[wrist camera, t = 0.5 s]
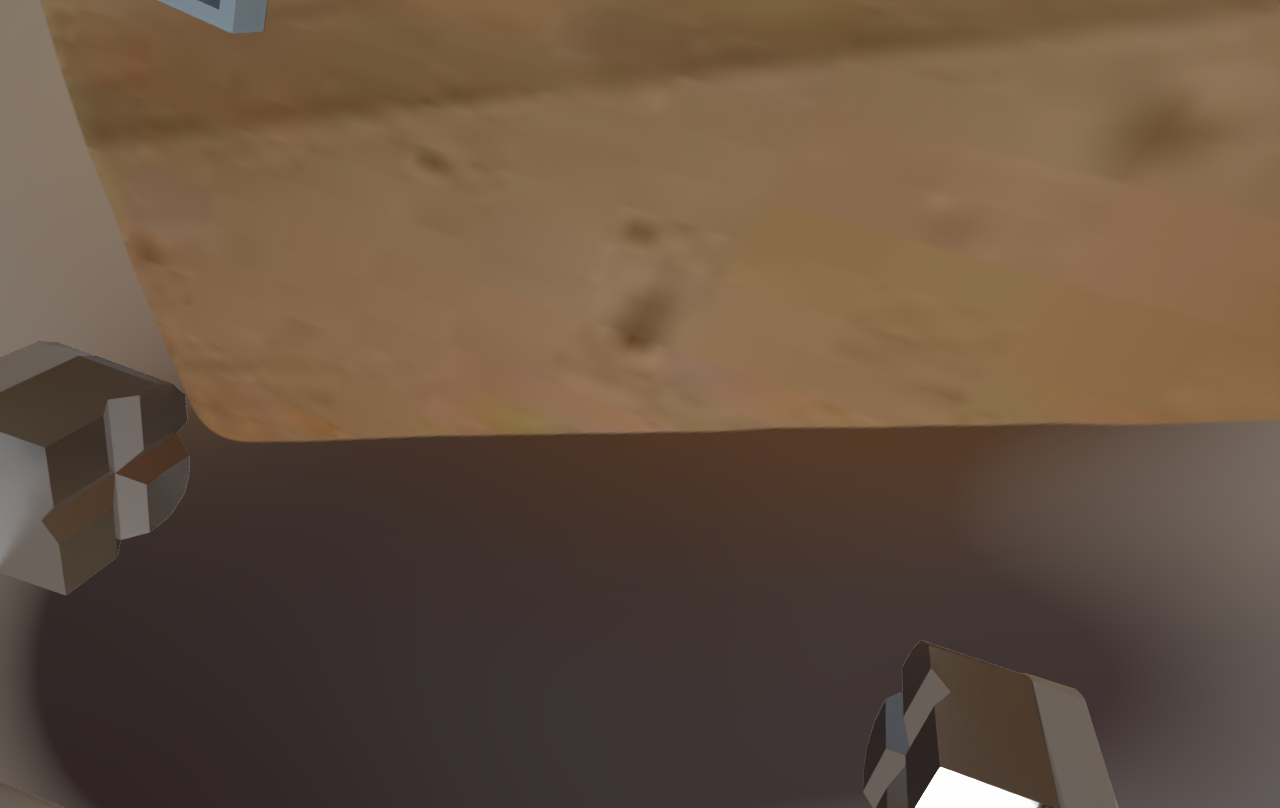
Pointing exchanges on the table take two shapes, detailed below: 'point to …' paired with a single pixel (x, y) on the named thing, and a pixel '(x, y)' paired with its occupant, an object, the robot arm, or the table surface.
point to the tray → (226, 13)
